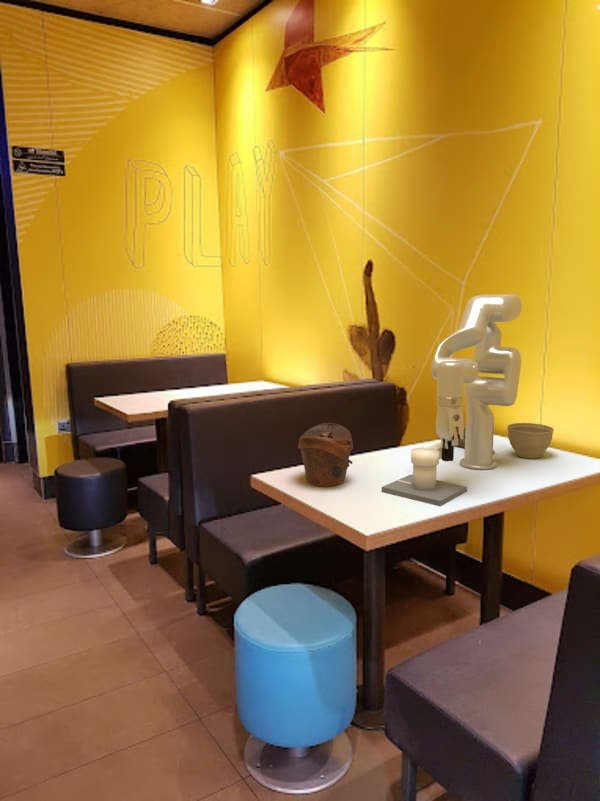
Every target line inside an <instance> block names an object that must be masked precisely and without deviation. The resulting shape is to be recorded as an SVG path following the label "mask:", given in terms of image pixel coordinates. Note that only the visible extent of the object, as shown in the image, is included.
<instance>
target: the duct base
mask: <svg viewBox="0 0 600 801" xmlns="http://www.w3.org/2000/svg"><path fill="white" fill-rule="evenodd" d="M412 465H413V466H412V474H408V475H406V476H404V477H402V478H399V479H397V480H395V481H392V482H390V483H388V484H385V485H383V486H381V492H382V493H386V494H390V495H393V496H397V497H403V498H405V499H406V498H407V499H410V500H415V501H418V502H422V503H426V504H430V505H435V506H439V507H440V506H443V505H444V504H447V503H449V502H450V501H452V500H455V498H458V497H459V496H461V495H463V494H465V493H467V492H468V486H465V485H460V484H455V483H451V482H447V481H443V480H437V466H438V465H435V466H419V465H415V464H413V463H412Z"/></svg>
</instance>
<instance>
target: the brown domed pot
mask: <svg viewBox="0 0 600 801" xmlns="http://www.w3.org/2000/svg"><path fill="white" fill-rule="evenodd" d="M297 449H300V453H301V457H302V463H303V468H304V472H305V480H306V482H307V483H309V484H310V485H313V486H316V487H332V486H333V487H335V486H339V485H341V484H343V483H344V482H345V479H346V476H347V470H348V468H349V467H350V465H353V461H352V460H350V455H351V451H352V450H353V449H354V444H353V438H352V434H351V432H350V430H349V429H348V428H346V427H345V426H343V425H342V424H338V423H336V422H335V423H334V422H325V423H324V422H323V423H319V424H317V425H315V426H313V427H311V428H309V429H308V430H306V431H305V432H304V433H303V434H302V435H301V436H300V437H299V439H298V444H297Z"/></svg>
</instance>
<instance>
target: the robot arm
mask: <svg viewBox="0 0 600 801" xmlns="http://www.w3.org/2000/svg"><path fill="white" fill-rule="evenodd" d="M522 303H523V302H522V300H521V298H520V296H519V295H517V294H515V293H514V294H509V293H507V294H503V293H502V294H501V293H499V294H497V293H495V294H492V293H491V294H487V293H486V294H479V295H475V296H473V297H472V298H470V299H468V301H467V303H466V305H465V308H464V311H463V314H462V317H461V320H460V322H459V326H458V328H457V330H456V331H455V332H453V333H451V334H450V335H448V336H447V337H446V338H445V339H444V340H442V341H441V342H440V343H439V345H438V346H437V348H436V350H435V352H434V356H433V359H432V361H431V366H430V374H431V376H432V378H433V379H434V380H436V381H437V384H436V407H437V408H436V417H435V418H436V419H435V433H436V435H437V436H438V438H439V439H440V442H441V446H442V447H443V448H442V459H441V461H443V462H453V461H454V452H455V451H454V450H455V449H456V446H458V439H459V440H463V436H464V428H465V425H466V432H465V447H464V456H463V458H460V460H459V465H461V467H464V468H466V469H467V468H468V469H473V470H492V469H495V468H496V467H498V466H497V465H498V464H497V462H496V461H495V460H494V459H493V456H494V455H496V451H495V450H494V434H495V431H494V430H495V416H494V413H493V410H492V409H491V407H490V406H500V407H511V406H513V405H515V403H516V402H517V398H518V391H519V383H520V376H521V369H522V368H521V367H522V356H521V352H520V350H519V349H517V348H515V347H510V346H509V347H508V346H502V337H503V334H502V330H501V329H500V327H499V326H498V325H497V323H507V322H512V321H514V320H515V321H516V319H517V318H518V317H520V314H521V312H522V306H523V305H522ZM472 347H474V351H473V358H472V359H471V358H466V357H465V358H462V357H460V358H459V357H450V356H452V355H453V354H455V353H457V352H459V351H462V350H466V349H469V348H472ZM480 373H481V374H487V375H503V376H504V377H492V376H479V374H480ZM463 388H464V390H463ZM463 392H464V393H463ZM463 394H464V399H465V409H466V410H465V425H464V413H463Z"/></svg>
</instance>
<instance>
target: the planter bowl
mask: <svg viewBox="0 0 600 801" xmlns="http://www.w3.org/2000/svg"><path fill="white" fill-rule="evenodd" d="M506 427H507V438H508V441H509V444H510V446H511V447H512V449H513V451H514V454H515V455H516V456H517V457H520V458H524V459H541V458H542V457H543V456H544V453H545V452H546V451H547V450H548V448H549V447H550V445H551V442H552V440H553V434H554V431H555V429H554V428H553V427H551V426H550V425H546V424H541V423H540V424H539V423H534V422H533V423H532V422H516V423H515V422H514V423H511V424H508V425H507V426H506Z"/></svg>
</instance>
